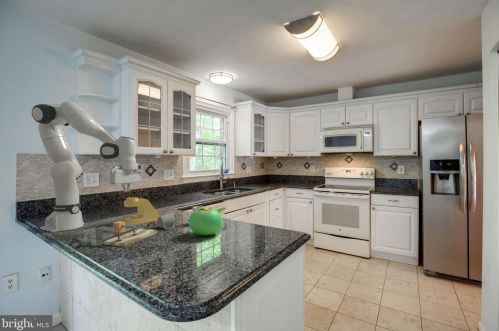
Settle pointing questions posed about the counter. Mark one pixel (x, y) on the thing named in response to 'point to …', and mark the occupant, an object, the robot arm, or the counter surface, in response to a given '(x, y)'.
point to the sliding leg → (122, 226)
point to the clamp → (140, 211)
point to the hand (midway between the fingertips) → (126, 191)
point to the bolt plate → (130, 237)
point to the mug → (197, 208)
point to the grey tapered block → (107, 235)
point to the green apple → (206, 220)
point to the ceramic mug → (166, 221)
